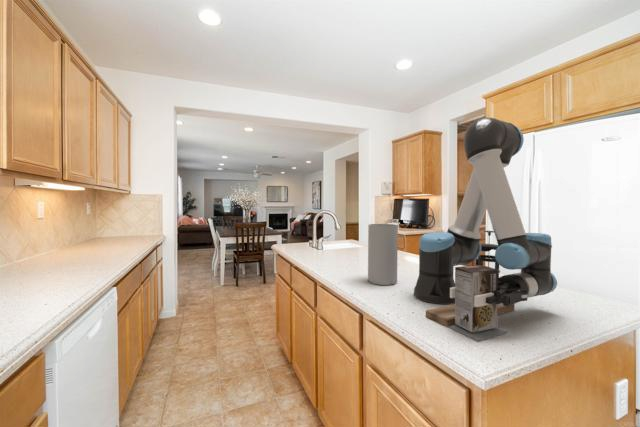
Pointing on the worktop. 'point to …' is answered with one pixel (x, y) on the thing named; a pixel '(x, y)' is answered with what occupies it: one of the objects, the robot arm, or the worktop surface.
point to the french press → (484, 257)
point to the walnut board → (448, 313)
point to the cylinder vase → (382, 253)
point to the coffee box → (468, 286)
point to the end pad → (479, 333)
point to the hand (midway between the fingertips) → (462, 297)
